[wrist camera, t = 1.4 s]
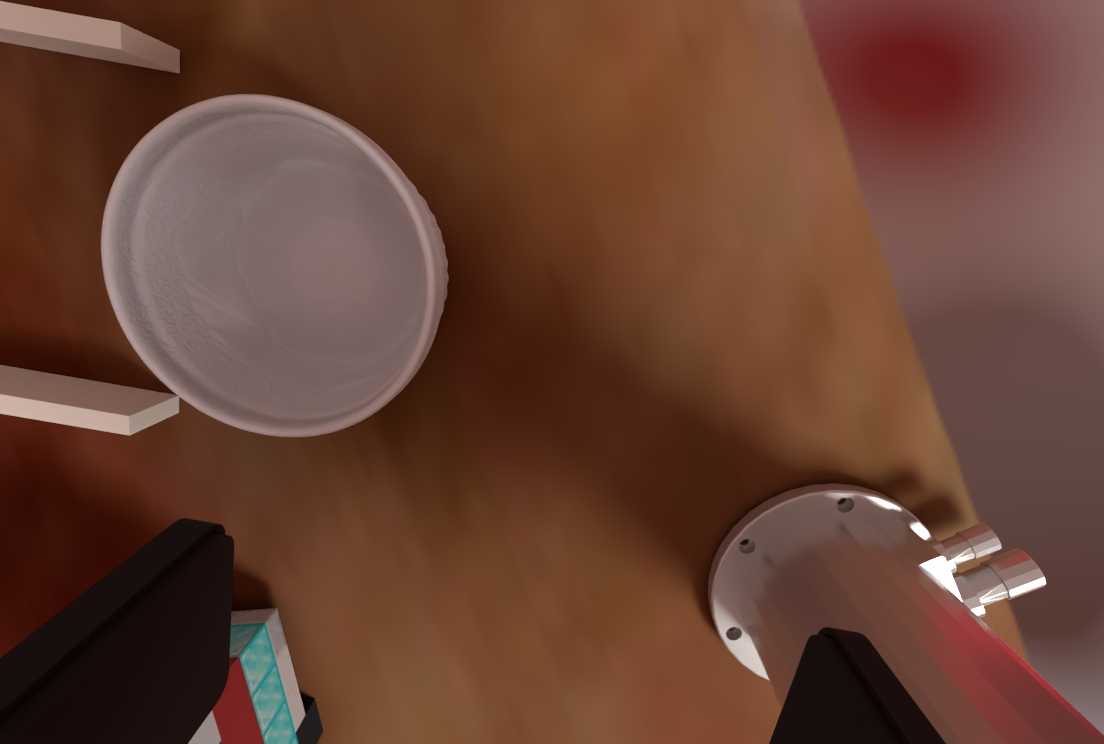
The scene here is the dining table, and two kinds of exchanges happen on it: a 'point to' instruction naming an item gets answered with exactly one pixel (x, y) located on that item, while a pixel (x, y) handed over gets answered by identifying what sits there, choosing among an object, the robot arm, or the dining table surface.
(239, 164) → the ramekin
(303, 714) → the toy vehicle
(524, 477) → the dining table surface
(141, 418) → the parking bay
